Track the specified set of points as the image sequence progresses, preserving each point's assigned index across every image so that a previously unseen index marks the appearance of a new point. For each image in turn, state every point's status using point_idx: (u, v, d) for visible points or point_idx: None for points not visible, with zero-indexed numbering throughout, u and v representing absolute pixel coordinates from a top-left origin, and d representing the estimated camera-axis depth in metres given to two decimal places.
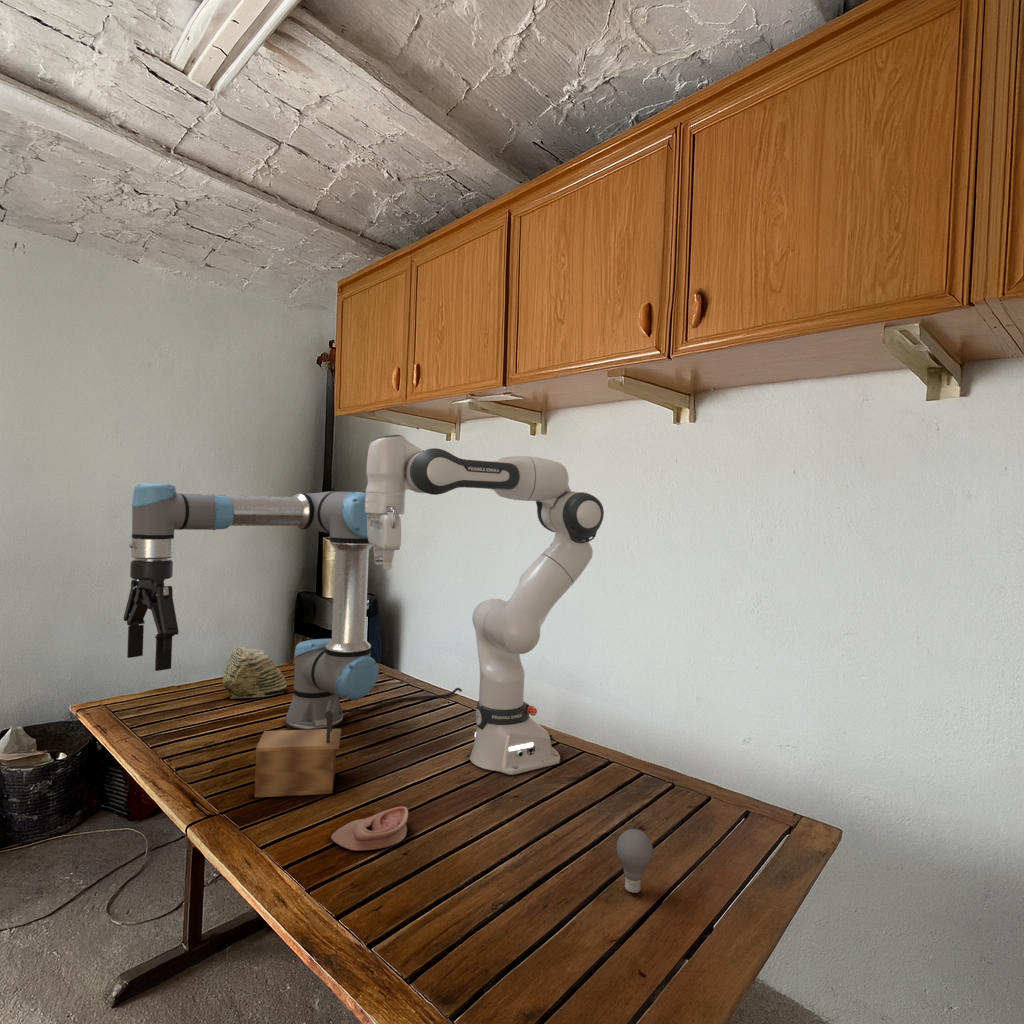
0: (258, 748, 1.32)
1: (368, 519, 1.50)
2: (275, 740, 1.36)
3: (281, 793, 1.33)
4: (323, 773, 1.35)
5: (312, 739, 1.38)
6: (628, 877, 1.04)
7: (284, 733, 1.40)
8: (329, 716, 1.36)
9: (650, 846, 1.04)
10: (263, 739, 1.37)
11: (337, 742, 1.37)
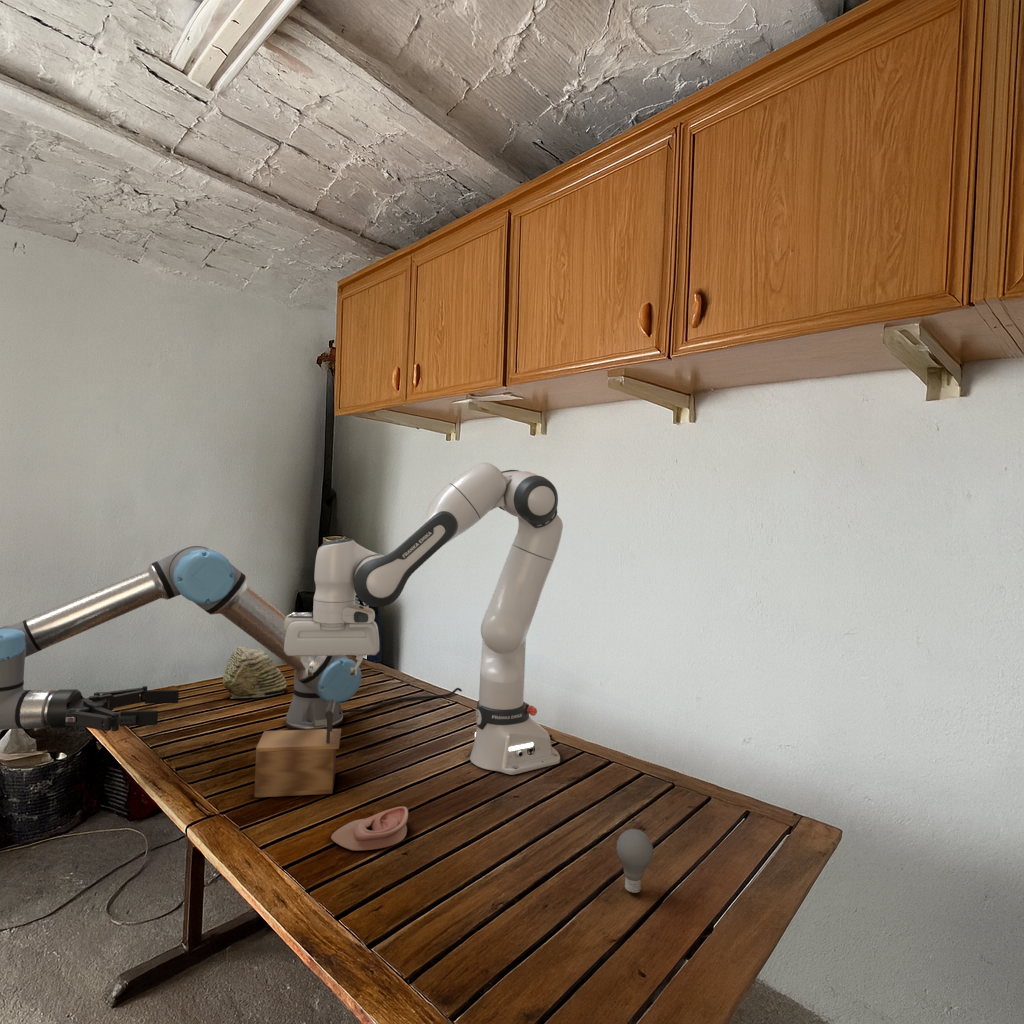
0: (258, 748, 1.32)
1: None
2: (275, 740, 1.36)
3: (281, 793, 1.33)
4: (323, 773, 1.35)
5: (312, 739, 1.38)
6: (628, 877, 1.04)
7: (284, 733, 1.40)
8: (329, 716, 1.36)
9: (650, 846, 1.04)
10: (263, 739, 1.37)
11: (337, 742, 1.37)
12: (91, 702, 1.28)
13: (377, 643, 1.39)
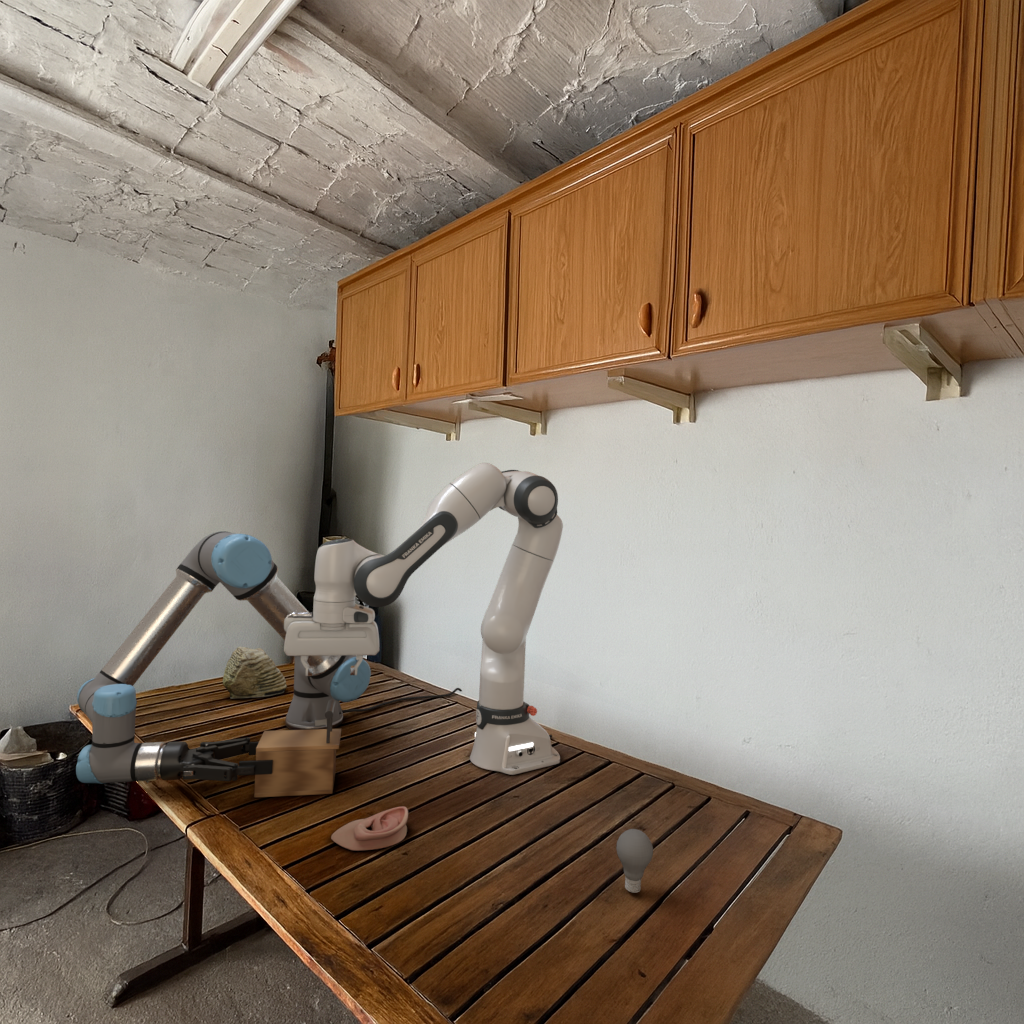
0: (258, 748, 1.32)
1: None
2: (275, 740, 1.36)
3: (281, 793, 1.33)
4: (323, 773, 1.35)
5: (312, 739, 1.38)
6: (628, 877, 1.04)
7: (284, 733, 1.40)
8: (329, 716, 1.36)
9: (650, 846, 1.04)
10: (263, 739, 1.37)
11: (337, 742, 1.37)
12: (200, 755, 1.32)
13: (377, 643, 1.39)
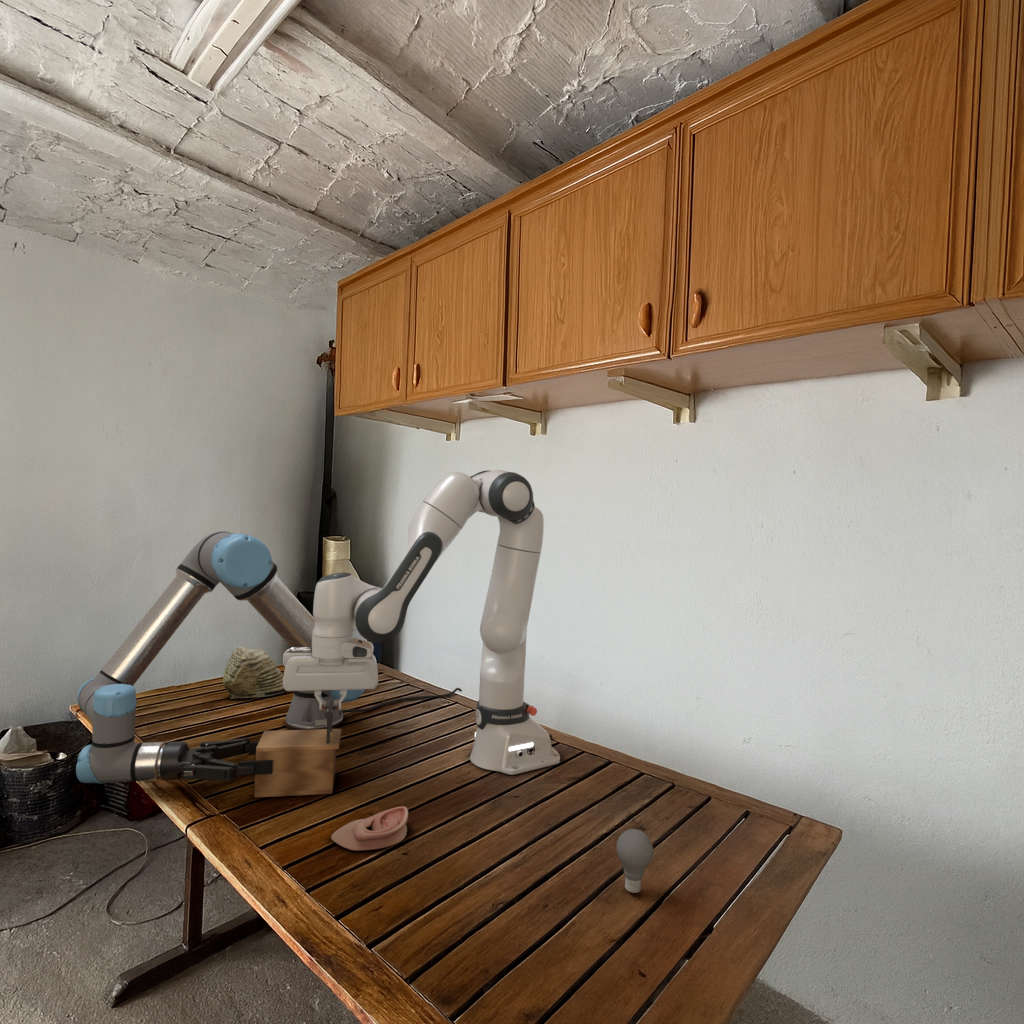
0: (258, 748, 1.32)
1: None
2: (275, 740, 1.36)
3: (281, 793, 1.33)
4: (323, 773, 1.35)
5: (312, 739, 1.38)
6: (628, 877, 1.04)
7: (284, 733, 1.40)
8: (329, 716, 1.36)
9: (650, 846, 1.04)
10: (263, 739, 1.37)
11: (337, 742, 1.37)
12: (200, 755, 1.32)
13: (376, 677, 1.39)
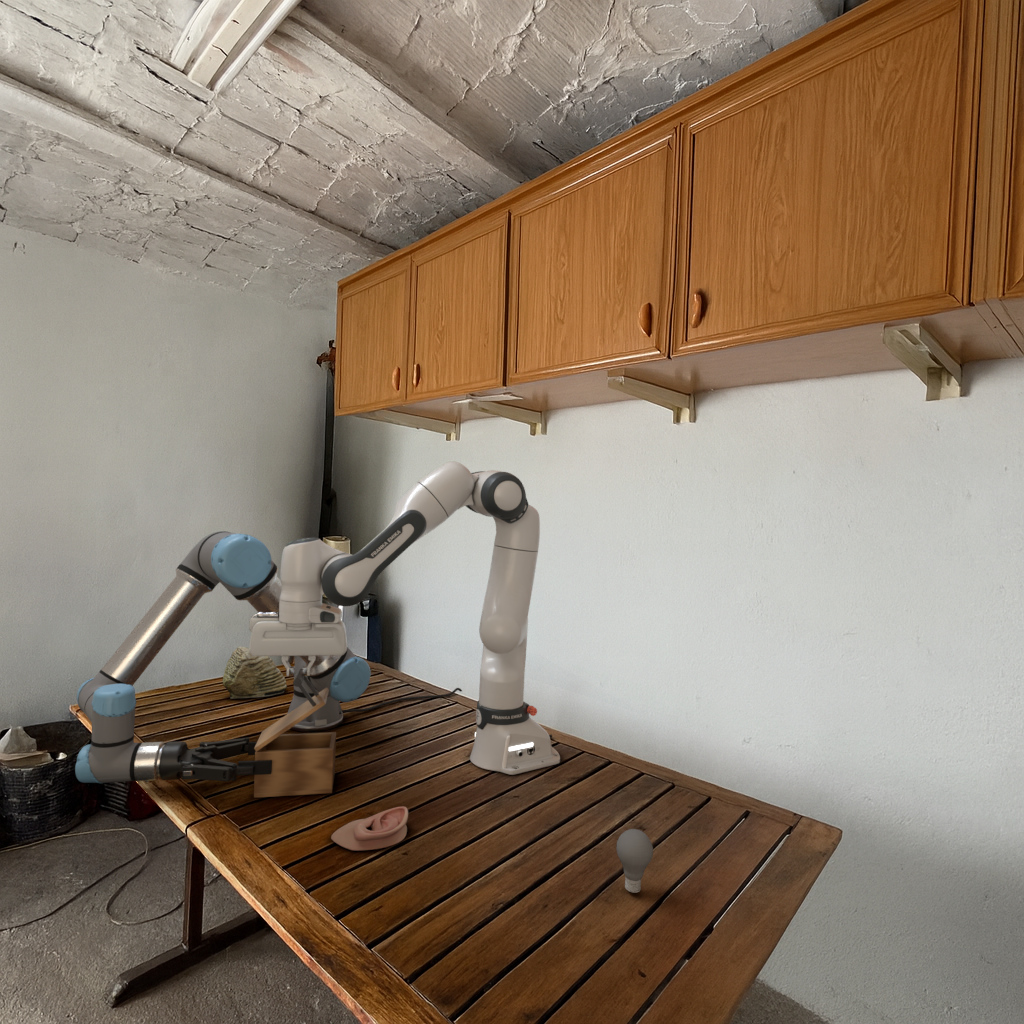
0: (256, 747, 1.32)
1: None
2: (270, 732, 1.36)
3: (280, 793, 1.33)
4: (322, 772, 1.35)
5: (301, 711, 1.37)
6: (628, 877, 1.04)
7: (279, 722, 1.40)
8: (298, 683, 1.34)
9: (650, 846, 1.04)
10: (260, 738, 1.36)
11: (322, 699, 1.36)
12: (199, 755, 1.32)
13: (344, 643, 1.38)
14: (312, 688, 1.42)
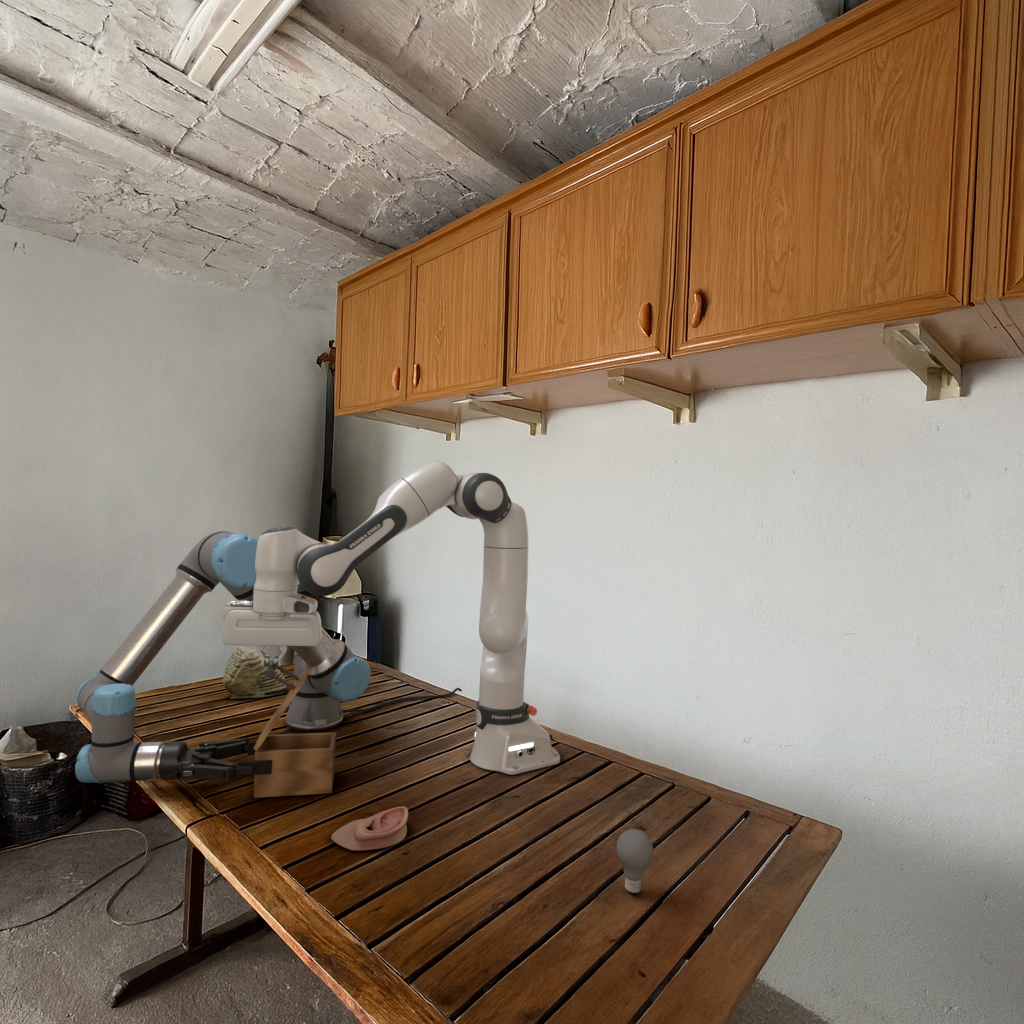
0: (255, 747, 1.32)
1: None
2: (265, 729, 1.36)
3: (280, 793, 1.33)
4: (322, 773, 1.35)
5: (286, 698, 1.36)
6: (628, 877, 1.04)
7: (272, 717, 1.40)
8: (270, 674, 1.33)
9: (650, 846, 1.04)
10: (259, 738, 1.36)
11: (300, 680, 1.35)
12: (199, 754, 1.32)
13: (318, 634, 1.37)
14: (290, 674, 1.41)
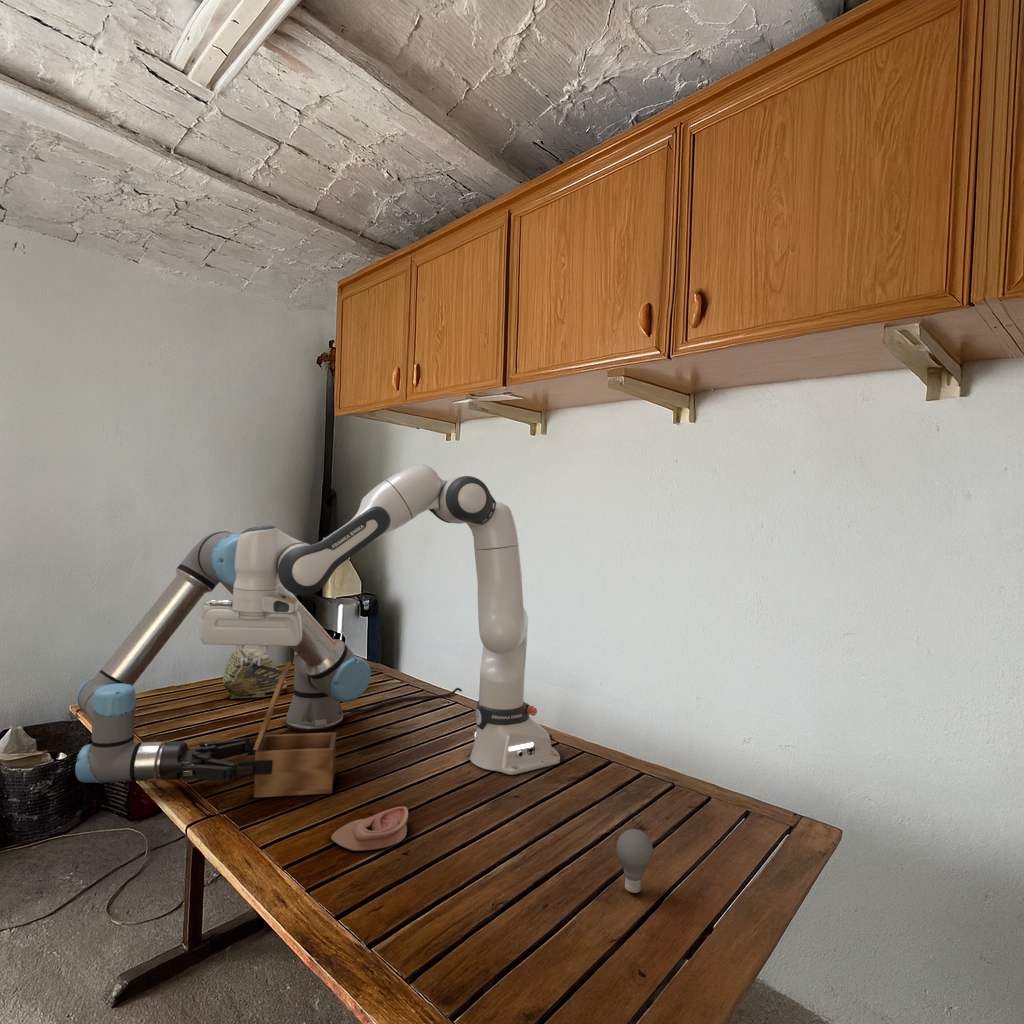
0: (254, 747, 1.32)
1: None
2: None
3: (280, 793, 1.33)
4: (322, 773, 1.35)
5: None
6: (628, 877, 1.04)
7: None
8: (250, 674, 1.32)
9: (650, 846, 1.04)
10: None
11: (281, 673, 1.34)
12: (199, 754, 1.32)
13: (298, 634, 1.36)
14: (274, 670, 1.40)
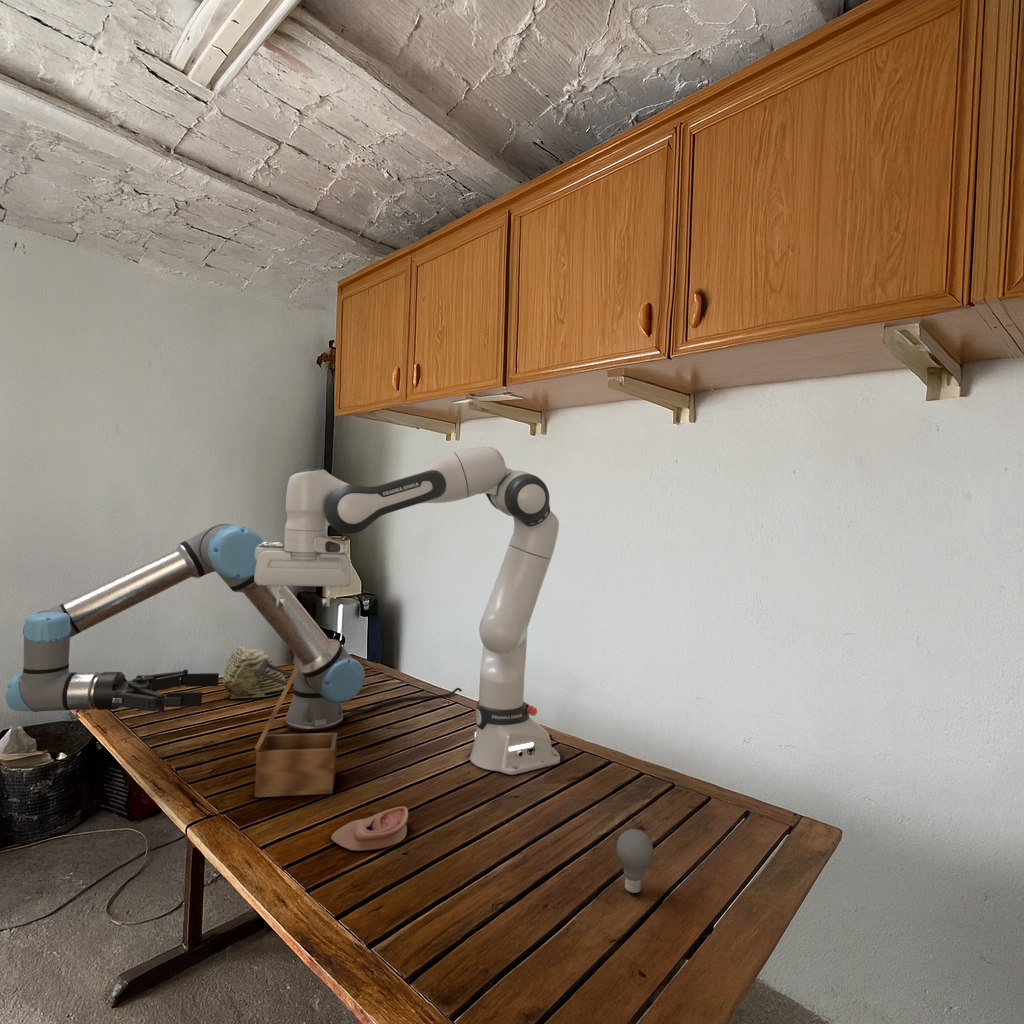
0: (256, 747, 1.32)
1: None
2: None
3: (281, 793, 1.33)
4: (323, 773, 1.35)
5: None
6: (628, 877, 1.04)
7: (270, 716, 1.40)
8: (260, 673, 1.33)
9: (650, 846, 1.04)
10: None
11: (291, 675, 1.34)
12: (136, 684, 1.30)
13: (349, 574, 1.38)
14: (282, 671, 1.40)
